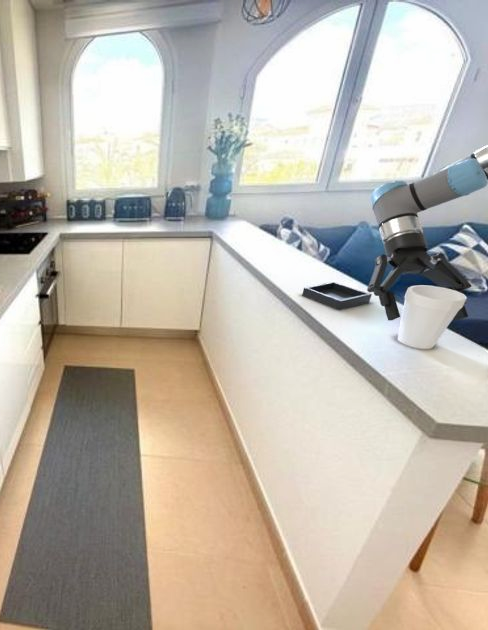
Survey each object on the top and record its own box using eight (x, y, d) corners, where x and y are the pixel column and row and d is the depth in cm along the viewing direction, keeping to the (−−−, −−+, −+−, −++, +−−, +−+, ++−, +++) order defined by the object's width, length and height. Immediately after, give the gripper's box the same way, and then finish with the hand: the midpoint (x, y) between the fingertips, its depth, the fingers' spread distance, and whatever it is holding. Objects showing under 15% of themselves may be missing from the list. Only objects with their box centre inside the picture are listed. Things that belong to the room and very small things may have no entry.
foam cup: (415, 331, 87) (435, 283, 82) (454, 350, 79) (479, 298, 73) (379, 334, 87) (396, 287, 82) (414, 354, 79) (437, 302, 73)
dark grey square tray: (369, 302, 104) (372, 294, 102) (338, 309, 101) (340, 301, 100) (330, 289, 114) (333, 281, 113) (301, 295, 111) (303, 287, 110)
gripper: (446, 245, 88) (473, 323, 81) (339, 248, 92) (357, 323, 85) (474, 228, 81) (507, 313, 74) (357, 232, 85) (378, 313, 78)
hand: (427, 318), depth 80 cm, fingers open, 13 cm apart
